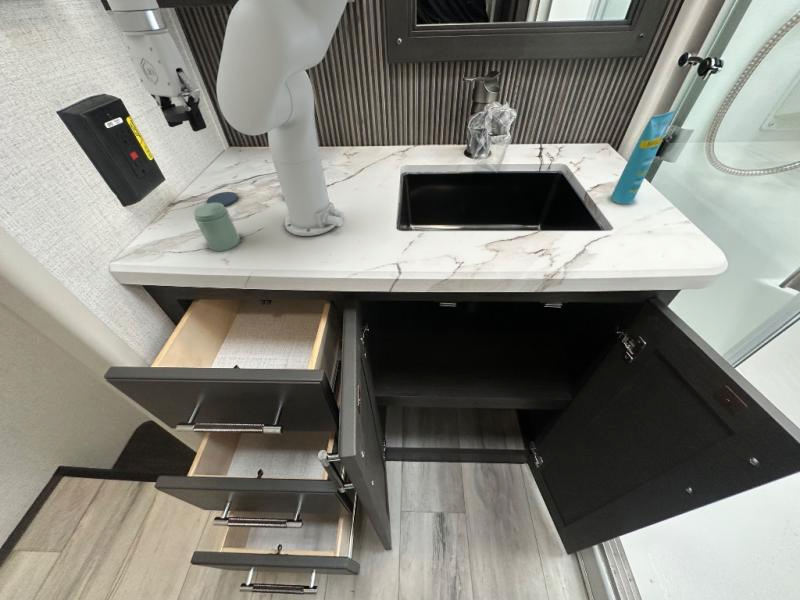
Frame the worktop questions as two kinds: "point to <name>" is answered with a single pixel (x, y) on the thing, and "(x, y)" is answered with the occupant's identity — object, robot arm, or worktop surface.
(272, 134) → the robot arm
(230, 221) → the jar
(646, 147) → the tube
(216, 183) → the worktop surface
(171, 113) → the lid
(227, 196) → the coaster
